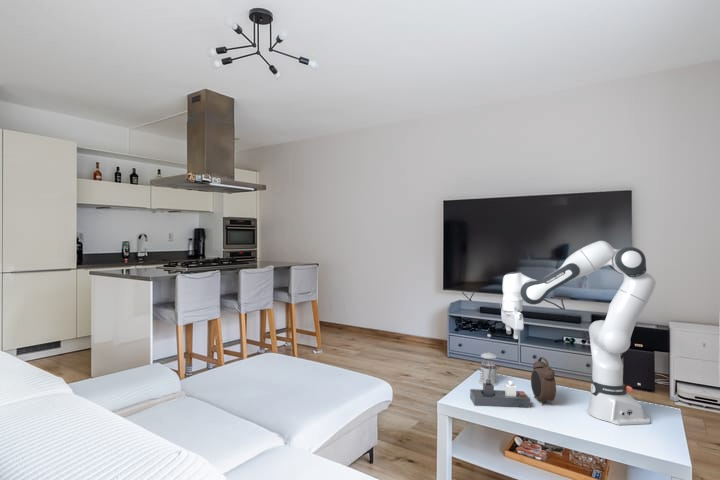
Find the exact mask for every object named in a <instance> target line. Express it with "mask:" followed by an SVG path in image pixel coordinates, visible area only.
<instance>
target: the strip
mask: <svg viewBox="0 0 720 480" xmlns="http://www.w3.org/2000/svg"><path fill="white" fill-rule="evenodd" d="M469 392H470V393H469V396H470V397H469V398H470V400H471V402H472V404H473V405H474V407H475V406H476V407H496V408H499V407H500V408H520V409H521V408H525V409H531V398H530V396H528V395H527V394H526V393H525V391H524V390H522V391H521V390H516V396H506V395H505V390H501V389H500V390H499V389H498V390H497V389H496V390H495V389H494V395H483V389H476V388H475V389H474V388H471V389H470V391H469Z"/></svg>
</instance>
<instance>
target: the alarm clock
mask: <svg viewBox="0 0 720 480" xmlns="http://www.w3.org/2000/svg"><path fill="white" fill-rule="evenodd" d="M542 360H543V361H542ZM532 368H533V369H532V371H531V375H530V386H531V391H532V393H533V396H534V397H533V398H534V399H536V400H537V401H540V402H541V406H542V407H543V406H544V402H549V404H550V405H552V402H553V401H554V400H555V398H556V395H557V385H556V379H555V376H556V375H555V373H556V372H555V370H554V369H553V368H551V367H550V365H549V361H548V360H547V359H546V357H544V356H540V357H539V358H537V361H534V362H533V366H532Z"/></svg>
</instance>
